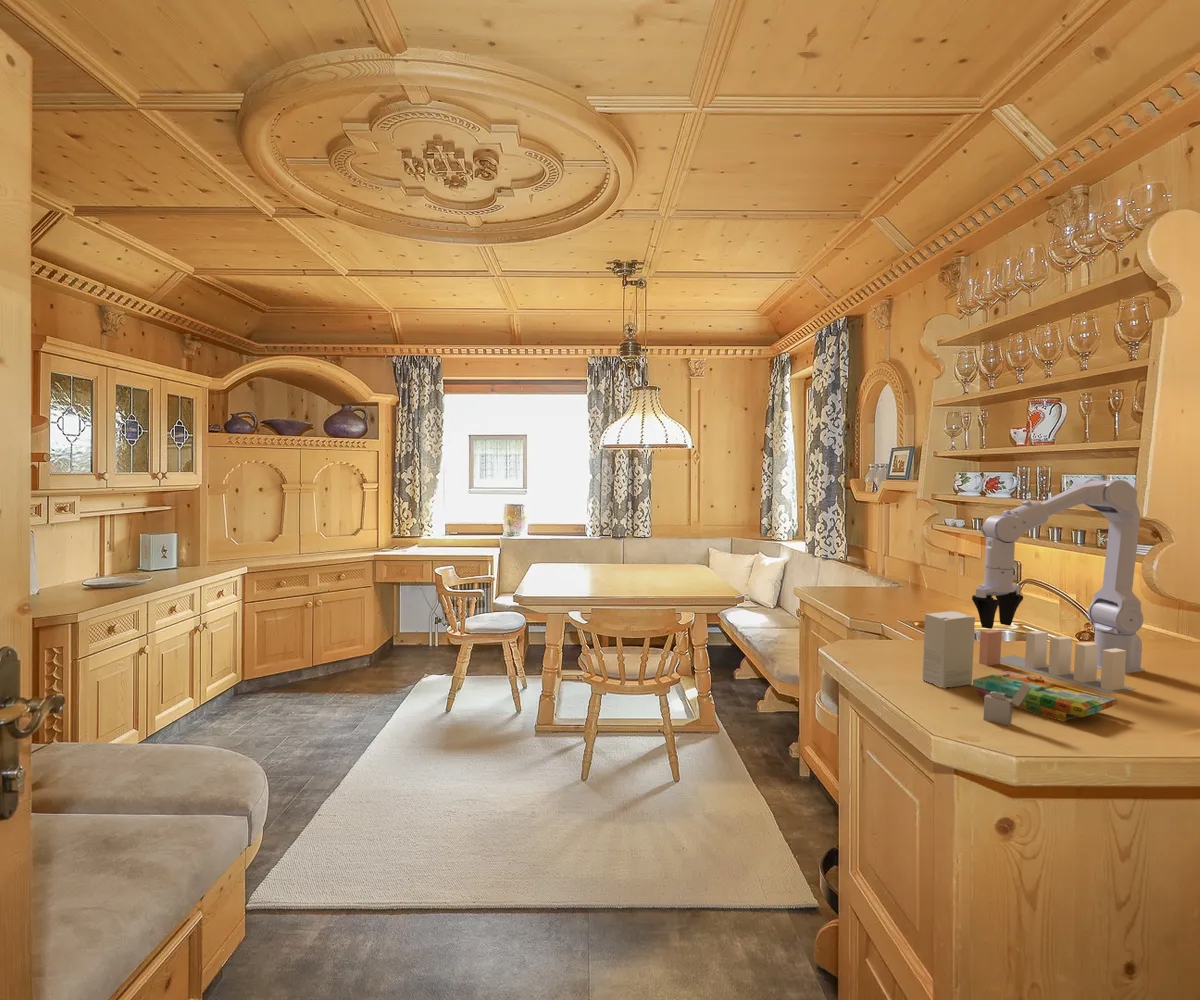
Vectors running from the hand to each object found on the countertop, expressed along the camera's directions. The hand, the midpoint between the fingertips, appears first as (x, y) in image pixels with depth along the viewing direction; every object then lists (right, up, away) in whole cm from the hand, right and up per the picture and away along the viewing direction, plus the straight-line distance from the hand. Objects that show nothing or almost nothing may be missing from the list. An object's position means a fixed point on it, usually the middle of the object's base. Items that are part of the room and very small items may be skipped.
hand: (996, 626), depth 158 cm
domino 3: (+11, -10, -5) cm, 16 cm away
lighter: (-19, -11, -36) cm, 42 cm away
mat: (+11, -10, -5) cm, 16 cm away
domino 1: (0, -10, +2) cm, 10 cm away
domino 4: (+13, -10, -10) cm, 19 cm away
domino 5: (+15, -10, -15) cm, 24 cm away
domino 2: (+9, -9, 0) cm, 13 cm away
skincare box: (-18, -10, -13) cm, 24 cm away
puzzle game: (-7, -11, -27) cm, 30 cm away
